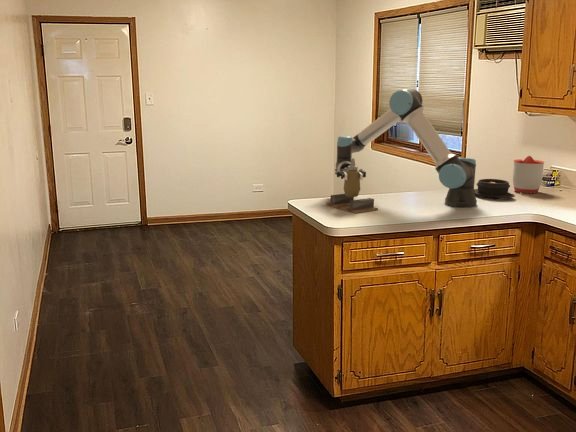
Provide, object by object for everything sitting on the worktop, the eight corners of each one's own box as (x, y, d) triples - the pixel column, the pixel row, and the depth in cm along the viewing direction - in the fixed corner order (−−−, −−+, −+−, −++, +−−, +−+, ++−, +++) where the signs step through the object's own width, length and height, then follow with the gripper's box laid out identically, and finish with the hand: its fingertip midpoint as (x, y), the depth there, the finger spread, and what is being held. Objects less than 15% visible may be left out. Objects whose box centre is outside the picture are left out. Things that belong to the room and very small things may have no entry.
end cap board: (378, 210, 295) (378, 199, 294) (355, 213, 288) (355, 202, 287) (348, 201, 313) (348, 192, 312) (326, 204, 306) (326, 194, 305)
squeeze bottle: (341, 194, 303) (343, 157, 299) (358, 194, 304) (359, 157, 300) (344, 197, 295) (346, 159, 291) (361, 197, 296) (363, 159, 292)
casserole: (523, 199, 323) (525, 183, 321) (495, 202, 316) (497, 186, 314) (488, 191, 345) (490, 176, 343) (462, 193, 338) (463, 178, 336)
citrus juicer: (538, 189, 352) (542, 153, 348) (543, 195, 336) (547, 157, 331) (509, 188, 355) (512, 152, 351) (512, 193, 339) (515, 156, 335)
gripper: (365, 177, 316) (374, 185, 294) (327, 176, 315) (333, 185, 292) (366, 162, 314) (375, 169, 292) (327, 162, 313) (333, 169, 291)
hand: (354, 177), depth 292 cm, fingers closed on squeeze bottle, 6 cm apart
